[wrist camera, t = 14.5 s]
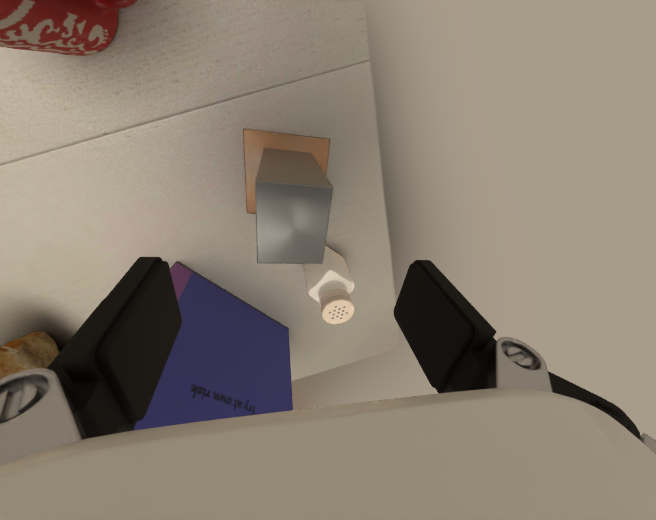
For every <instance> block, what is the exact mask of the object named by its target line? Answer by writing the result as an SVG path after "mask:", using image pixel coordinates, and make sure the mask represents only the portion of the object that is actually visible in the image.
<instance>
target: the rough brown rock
mask: <svg viewBox="0 0 656 520" xmlns="http://www.w3.org/2000/svg"><path fill="white" fill-rule="evenodd" d="M59 353H60V352H59V350H58V348H57V346H56V343H55V341H54V340H53V339H52V338H51V337H50V336H49V335H48V334H46V333H45V332H32V333H30V334H28V335H25V336H23V337H21V338H19V339H16V340H13V341H9V342H8V343H6V344H5V345H3V346H0V379H2V378H4V377H6V376H9V375H11V374H14V373H17V372H20V371H23V370H28V369H33V368H47V367H48V366H49V365H50V364H51V362H52V361H53V360H54V359H55V357H56V356H57V355H58V354H59Z"/></svg>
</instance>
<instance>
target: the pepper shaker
mask: <svg viewBox="0 0 656 520" xmlns="http://www.w3.org/2000/svg"><path fill="white" fill-rule="evenodd" d="M304 272H305V278H306V284H307V290H308V293H309V295H310V296H311V297H312V298H313V299H315V300H316V301H318V302H319V304H320V307H321V312H322V317H323V319H324V320H325V321H326V322H328V323H331V324H340V323H344V322H345V321H347V320H349V319H350V318H351V317H352V315H353V314H354V305H353V302H352V300H351V297H350V293H351V292H352V290H353V289H354V285H355V284H354V282H353V280H352V277H351V275H350V273H349V270H348V268H347V265H346V263H345V261H344V259H343V257H342V256H340V255H339V254H337V253H336V252H334V251H333V250H332V249H330V248H329V247H327V246H325V252H324V259H323V264H304Z"/></svg>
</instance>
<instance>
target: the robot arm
mask: <svg viewBox="0 0 656 520" xmlns="http://www.w3.org/2000/svg"><path fill="white" fill-rule="evenodd" d="M394 317H395V319H396V321H397V323H398V325H399V326H400V328H401V330H402V332H403V334H404V336H405V337H406V340H407V341H408V343H409V345H410V347H411V349H412V351H413V352H414V354H415V356H416V358H417V360H418V362H419V364H420V365H421V367H422V369H423V371H424V373H425V375H426V376H427V379H428V380H429V382H430V384H431V385H432V387H434V388H436V390H437V392H438V393H439V394H431V395H423V396H413V397H404V398H395V399H386V400H377V401H369V402H360V403H351V404H342V405H334V406H325V407H317V408H309V409H300V410H291V411H283V412H274V413H266V414H258V415H250V416H242V417H233V418H225V419H217V420H209V421H200V422H192V423H185V424H178V425H171V426H163V427H156V428H149V429H142V430H134V428H135V425H136V423H137V421H141V420H142V419H143V418H144V417H145V415H146V412H147V410H148V407H149V405H150V402H151V400H152V397H153V395H154V392H155V390H156V387H157V385H158V382H159V380H160V377H161V375H162V372H163V370H164V367H165V365H166V362H167V360H168V357H169V355H170V352H171V350H172V347H173V345H174V342H175V340H176V337H177V335H178V332H179V330H180V327H181V324H182V316H181V312H180V308H179V304H178V300H177V296H176V292H175V288H174V284H173V280H172V276H171V272H170V268H169V265H168V263H167V262H166V261H163V260H162V259H161V258H160V257H140V258H138V259H137V261H136V262H135V263H134V264H133V266H132V267H131V268H130V269H129V270H128V272H127V273H126V274H125V275H124V277H123V278H122V279H121V280H120V281H119V283H118V284H117V285H116V286H115V287H114V289H113V290H112V291H111V292H110V294H109V295H108V296H107V297H106V298H105V299H104V300H103V301H102V302H101V303H100V304H99V306H98V307H97V308H96V309H95V310H94V312H93V313H92V314H91V315H90V316H89V318H88V319H87V320H86V321H85V322H84V324H83V325H82V326H81V327H80V329H79V330H78V331H77V332H76V333H75V335H74V336H73V337H72V338H71V339H70V341H69V342H68V343H67V344H66V345H65V347H64V348H63V349H62V350H61V351H60V353H59V354H58V355H57V356H56V357H55V359H54V360H53V361H52V362H51V364H50V365H49V366H48V367H47V368H33V369H28V370H23V371H20V372H17V373H14V374H11V375H9V376H6V377H4V378H2V379H0V520H656V440H654V439H653V438H651V437H650V436H648V435H647V434H645V433H644V434H642V435H640V433H639V431H638V429H637V427H636V426H635V424H634V423H633V422H632V421H631V420H630V418H629V417H628V416H627V415H626V414H625V413H624V412H623V411H622V410H621V409H620V408H619V407H617V406H616V405H614V404H613V403H611V402H609V401H607V400H605V399H603V398H601V397H599V396H597V395H595V394H593V393H591V392H589V391H587V390H585V389H583V388H581V387H579V386H577V385H575V384H573V383H571V382H569V381H567V380H565V379H563V378H561V377H558V376H556V375H554V374H552V373H550V372H548V370H547V366H546V363H545V361H544V359H543V358H542V357H541V356H540V354H539V353H537V352H536V351H535V350H534V349H533V348H531V347H530V346H529V345H527V344H525V343H523V342H521V341H519V340H517V339H514V338H509V337H502V338H499V339H498V340H497V341H496V340H495V339H494V338H493V336H494V335H495V333H496V331H495V329H493V328H492V326H491V325H490V324H489V323H488V322H487V321H486V320H485V319H484V318H483V317H482V316H481V315H480V314H479V312H478V311H477V310H476V309H475V308H474V307H473V306H472V305H471V304H470V303H469V302H468V301H467V299H466V298H465V297H464V296H463V295H462V294H461V293H460V292H459V291H458V290H457V289H456V288H455V287H454V286H453V284H452V283H451V282H450V281H449V280H448V279H447V278H446V277H445V276H444V275H443V274H442V273H441V272H440V271H439V270H438V268H436V266H435V265H434V264H433V263H432V262H431V261H429V260H416V261H415V262H414V263H413V264H411V265H410V266H409V269H408V272H407V275H406V278H405V280H404V283H403V286H402V289H401V291H400V294H399V297H398V300H397V303H396V305H395V308H394ZM133 430H134V431H133Z"/></svg>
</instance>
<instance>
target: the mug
mask: <svg viewBox="0 0 656 520" xmlns="http://www.w3.org/2000/svg"><path fill="white" fill-rule="evenodd" d="M136 1H137V0H0V47H7V48H13V49H22V50H32V51H41V52H53V53H60V54H65V55H91V54H95V53H97V52H100V51H102V50H103V49H104V48H105V47H107V46H108V45H109V44H110V42H111V41H112V39H113V37H114V35H115V33H116V30H117V24H118V9H122V8H126V7H128V6H131V5H132V4H134V3H135V2H136Z"/></svg>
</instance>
